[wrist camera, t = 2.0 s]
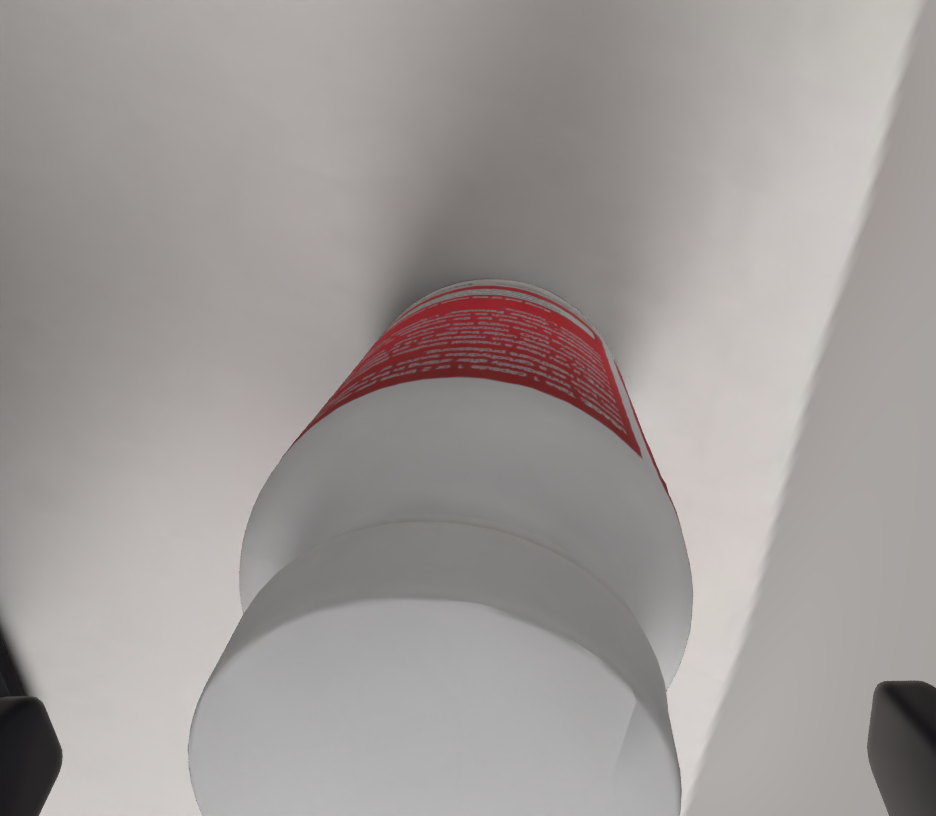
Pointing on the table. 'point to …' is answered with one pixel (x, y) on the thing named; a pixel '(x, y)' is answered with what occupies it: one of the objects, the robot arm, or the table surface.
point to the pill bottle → (457, 587)
